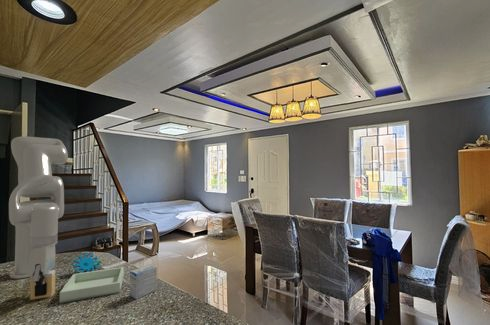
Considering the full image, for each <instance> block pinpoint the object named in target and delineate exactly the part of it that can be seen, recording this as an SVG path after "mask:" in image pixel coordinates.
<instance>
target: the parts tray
mask: <svg viewBox="0 0 490 325" xmlns="http://www.w3.org/2000/svg"><path fill="white" fill-rule="evenodd" d="M91 271H92V270H91ZM91 271H89V272H87V271H86V272H85V271H84V272H83V273H73V274H72V276H71V277H69V279H68V280H67V282H66V284H65V285H64V286H63V287H62V289H61V290H60V292H59V304H63V303H69V302H75V301H80V300H85V299H92V298H98V297H101V296H103V297H104V296H108V295H115V294H118V293H121V290H122V287H123V286H122V285H123V282H122V281H124V276H125V266H121V267H120V266H119V267H113V268H106V269H100V270H95V271H92V272H91Z"/></svg>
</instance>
